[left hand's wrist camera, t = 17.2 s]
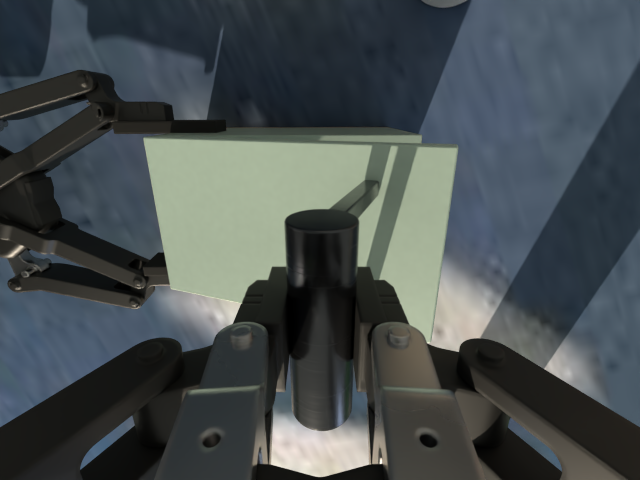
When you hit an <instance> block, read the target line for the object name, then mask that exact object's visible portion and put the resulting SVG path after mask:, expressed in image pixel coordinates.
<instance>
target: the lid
mask: <svg viewBox="0 0 640 480" xmlns="http://www.w3.org/2000/svg"><path fill="white" fill-rule="evenodd" d="M143 139H144V144H145V150H146V155H147V161H148V166H149V172H150V177H151V183H152V188H153V194H154V199H155V205H156V210H157V216H158V221H159V227H160V232H161V238H162V243H163V249H164V254H165V260H166V265H167V271H168V276H169V282H170V287H171V289H174V290H179V291H184V292H188V293H193V294H198V295H203V296H208V297H212V298H217V299H222V300H227V301H232V302H236V303H241V304H242V301H243V298H244V297H245V293H246V291H247V289H248V287H249V286H250V285H251V284H252V283H254V282H255V281H256V280H268V278H269V274H270V271H271V268H272V266H286V276H287V300H288V324H289V348H290V372H291V395H292V411H293V414H294V416H295V417H296V419H297V420H298V421H299V422H300V423H301V424H302V425H303V426H305V427H307V428H309V429H312V430H317V431H328V430H332V429H335V428H337V427H339V426H340V425H342V424H343V423H344V422H345V421H346V420H347V419H348V417H349V415H350V413H351V409H352V390H353V366H354V364H353V343H354V320H355V296H356V293H357V271H358V267H370V269H371V272H372V275H373V278H374V280H386V281H387V282H388V283H389V284H391V285H392V286H393V287H394V289H395V291H396V294H397V297H398V298H399V301H400V304H401V305H402V308H403V310H404V313H405V315H406V317H407V320H408V322H409V324H410V325H411V326H413V327H415V328H417V329H418V330H419V331H420V332H421V333H422V334H423V335H424V337H425V339H426V342H428V343H430V342H431V339H432V332H433V325H434V318H435V311H436V304H437V297H438V289H439V282H440V275H441V268H442V261H443V254H444V247H445V240H446V233H447V226H448V218H449V211H450V204H451V197H452V190H453V183H454V176H455V169H456V162H457V154H458V145H456V144H429V143H393V142H357V141H322V140H286V139H250V138H214V137H179V136H149V137H144V138H143Z"/></svg>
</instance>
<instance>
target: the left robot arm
mask: <svg viewBox="0 0 640 480" xmlns="http://www.w3.org/2000/svg"><path fill="white" fill-rule="evenodd" d="M289 356H290V348H289V324H288V300H287V276H286V266H272V268H271V271H270V274H269V278H268V280H256V281H255V282H254V283H252V284H251V285H250V286H249V287H248V289H247V291H246V293H245V297H244V298H243V301H242V304H241V306H240V308H239V310H238V313H237V315H236V318H235V320H234V323H233V324H232V325H229V326H227V327H225V328H223V329H222V330H221V331H220V332H219V333H218V334H217V335H216V337H215V339H214V342H213V345H211V346H208V347H205V348H201V349H196V350H191V351H187V352H182V347H181V344H180V343H179V342H178V341H176V340H174V339H171V338H155V339H150V340H147V341H144V342H141V343H139V344H137V345H135V346H133V347H132V348H130V349H128V350H127V351H125V352H124V353H122V354H120V355H119V356H117V357H115V358H114V359H112V360H110V361H109V362H107V363H105V364H104V365H102V366H100V367H99V368H97V369H96V370H94V371H92V372H91V373H89V374H87V375H86V376H84V377H82V378H81V379H79V380H77V381H76V382H74V383H73V384H71V385H69V386H68V387H66V388H64V389H63V390H61V391H59V392H58V393H56V394H54V395H53V396H51V397H49V398H48V399H46V400H45V401H43V402H41V403H40V404H38V405H36V406H35V407H33V408H31V409H30V410H28V411H26V412H25V413H23V414H21V415H20V416H18V417H17V418H15V419H13V420H12V421H10V422H8V423H7V424H5V425H3V426H2V427H0V480H640V427H638V426H637V425H635V424H633V423H632V422H630V421H628V420H627V419H625V418H623V417H622V416H620V415H619V414H617V413H615V412H614V411H612V410H610V409H609V408H607V407H605V406H604V405H602V404H600V403H599V402H597V401H595V400H594V399H592V398H591V397H589V396H587V395H586V394H584V393H582V392H581V391H579V390H577V389H576V388H574V387H572V386H571V385H569V384H568V383H566V382H564V381H563V380H561V379H559V378H558V377H556V376H554V375H553V374H551V373H549V372H548V371H546V370H544V369H543V368H541V367H540V366H538V365H536V364H535V363H533V362H531V361H530V360H528V359H526V358H525V357H523V356H521V355H520V354H518V353H516V352H515V351H513V350H512V349H510V348H508V347H506V346H505V345H503V344H500V343H498V342H495V341H492V340H488V339H479V338H477V339H469V340H466V341H465V342H463V343H462V344H461V346H460V349H459V352H455V351H451V350H446V349H441V348H437V347H434V346H431V345H429V344H427V342H426V339H425V337H424V335H423V334H422V333H421V332H420V331H419V330H418V329H417V328H415V327H413V326H411V325H410V324H409V322H408V320H407V317H406V315H405V313H404V310H403V308H402V305H401V304H400V301H399V298H398V297H397V294H396V291H395V289H394V287H393V286H392V285H391V284H389V283H388V282H387V281H386V280H374V278H373V275H372V272H371V269H370V267H358V271H357V293H356V296H355V320H354V343H353V364H354V371H355V379H356V386H357V392H367V398H368V404H367V429H368V451H369V465H366V466H363V467H359V468H355V469H352V470H348V471H344V472H341V473H337V474H333V475H330V476H326V477H314V476H310V475H307V474H303V473H299V472H296V471H292V470H288V469H285V468H281V467H277V466H274V465H271V451H272V429H273V404H274V401H275V394H276V392H285V388H286V380H287V372H288V364H289ZM130 416H133V420H134V423H135V426H134V427H133V428H131V429H130V430H129V431H128V432H126V433H125V434H124V435H123V436H121V437H120V438H119V439H118V440H117V441H115V442H114V443H113V444H112V445H110V446H109V447H108V448H107V449H106V450H104V451H103V452H102V453H101V454H99V455H98V456H97V457H96V458H95V459H93V460H92V461H91V462H90V463H88V464H87V465H86V466H85V467H84V468H82V469H81V470H80V466H81V462H82V460H83V458H84V456H85V455H86V453H87V452H88V451H89V450H90V449H91V448H92V446H94V445H95V444H96V443H97V442H99V441H100V440H101V439H102V438H104V437H105V436H106V435H107V434H109V433H110V432H111V431H113V430H114V429H115V428H116V427H118V426H119V425H120V424H121V423H123V422H124V421H125V420H127V419H128V418H129V417H130ZM510 417H511V418H512V419H513V420H515V421H516V422H517V423H519V424H520V425H521V426H522V427H524V428H525V429H526V430H527V431H529V432H530V433H531V434H533V435H534V436H535V437H536V438H538V439H539V440H540V441H542V442H543V443H544V444H545V445H547V446H548V447H549V448H550V449H551V450H552V451H553V452H554V454H555V455H556V456H557V458H558V460H559V461H560V464H561V467H562V472H561V471H560V470H559V469H558V468H556V467H555V466H554V465H553V464H552V463H550V462H549V461H548V460H547V459H545V458H544V457H543V456H542V455H541V454H539V453H538V452H537V451H536V450H534V449H533V448H532V447H531V446H530V445H528V444H527V443H526V442H525V441H523V440H522V439H521V438H520V437H519V436H517V435H516V434H515V433H514V432H512V431H511V430H510V429H509V428H508V423H509V420H510Z"/></svg>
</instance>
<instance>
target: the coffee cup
mask: <svg viewBox="0 0 640 480" xmlns="http://www.w3.org/2000/svg"><path fill="white" fill-rule="evenodd" d="M421 1H423V2H425V3H426V4H428V5H431V6H434V7H440V8H447V7H453V6H456V5H459V4H461V3H463V2H465V1H467V0H421Z"/></svg>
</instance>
